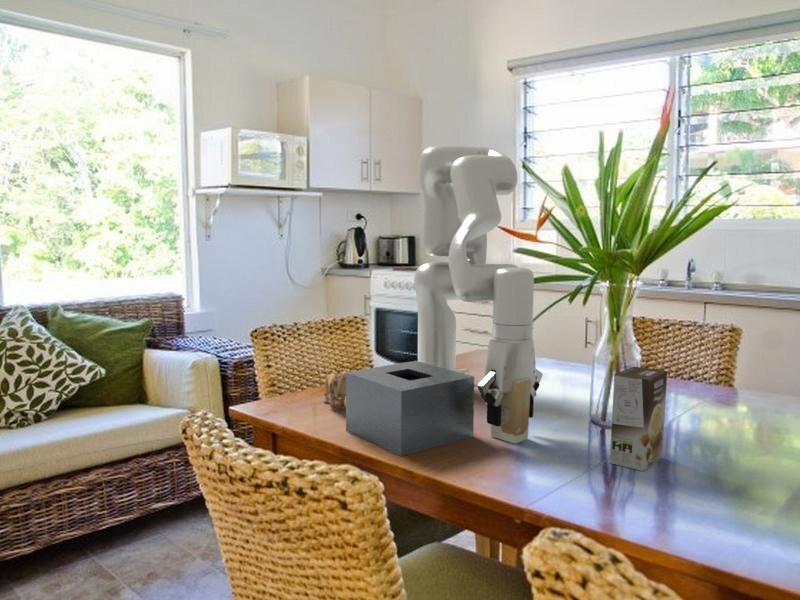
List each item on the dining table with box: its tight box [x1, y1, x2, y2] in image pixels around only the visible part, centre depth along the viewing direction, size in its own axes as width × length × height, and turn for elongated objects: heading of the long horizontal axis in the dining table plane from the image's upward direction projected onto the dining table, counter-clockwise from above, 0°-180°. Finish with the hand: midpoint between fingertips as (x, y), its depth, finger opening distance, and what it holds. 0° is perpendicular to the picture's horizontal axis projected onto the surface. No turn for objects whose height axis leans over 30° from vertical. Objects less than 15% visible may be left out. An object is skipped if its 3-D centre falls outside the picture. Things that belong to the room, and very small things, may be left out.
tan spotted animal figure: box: [323, 371, 347, 412], centre depth 153 cm, size 15×5×9 cm, turn 27°
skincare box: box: [490, 378, 531, 445], centre depth 130 cm, size 6×4×12 cm
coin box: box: [345, 360, 475, 457], centre depth 133 cm, size 18×18×12 cm
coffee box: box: [609, 366, 668, 472], centre depth 118 cm, size 9×6×16 cm
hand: (510, 419), depth 131 cm, fingers open, 8 cm apart
